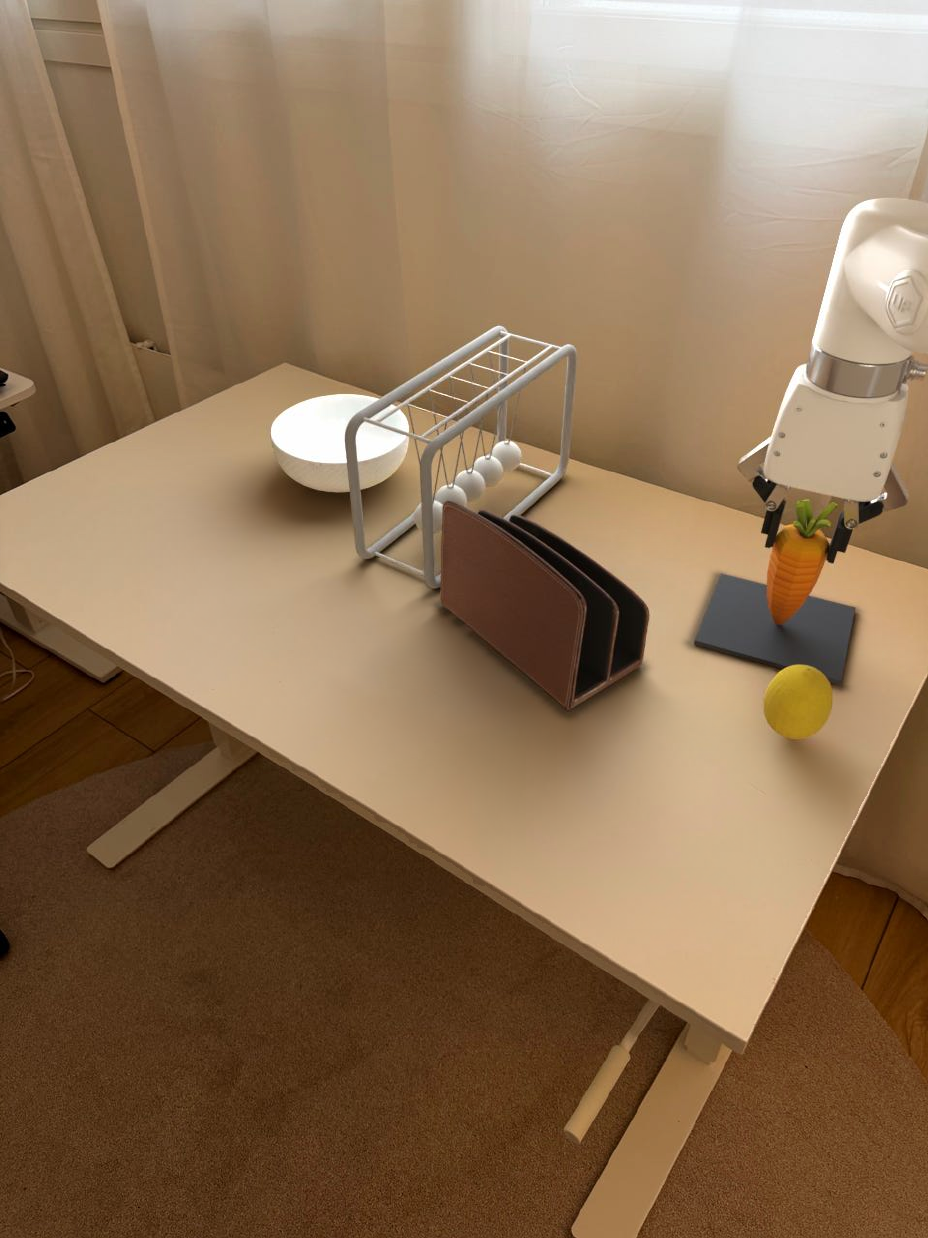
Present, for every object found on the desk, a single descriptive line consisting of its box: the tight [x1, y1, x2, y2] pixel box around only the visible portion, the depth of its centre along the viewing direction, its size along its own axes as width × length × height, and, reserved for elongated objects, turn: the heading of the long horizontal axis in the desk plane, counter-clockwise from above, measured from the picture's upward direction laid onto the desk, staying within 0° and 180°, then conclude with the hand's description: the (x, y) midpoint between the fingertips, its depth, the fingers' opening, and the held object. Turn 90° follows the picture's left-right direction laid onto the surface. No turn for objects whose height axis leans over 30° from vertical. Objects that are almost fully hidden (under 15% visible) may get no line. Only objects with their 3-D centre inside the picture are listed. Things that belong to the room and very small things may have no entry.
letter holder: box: [439, 501, 651, 712], centre depth 86 cm, size 10×20×14 cm, turn 38°
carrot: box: [766, 498, 839, 625], centre depth 86 cm, size 5×5×15 cm
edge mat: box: [694, 572, 856, 686], centre depth 91 cm, size 14×12×1 cm
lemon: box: [762, 665, 834, 740], centre depth 78 cm, size 6×6×8 cm
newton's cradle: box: [345, 325, 578, 589], centre depth 101 cm, size 30×10×18 cm, turn 146°
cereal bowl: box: [270, 393, 410, 493], centre depth 111 cm, size 17×17×7 cm
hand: (801, 545), depth 84 cm, fingers closed on carrot, 4 cm apart
